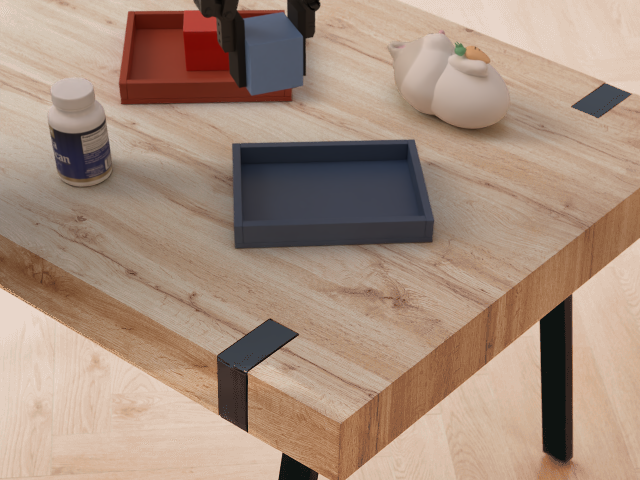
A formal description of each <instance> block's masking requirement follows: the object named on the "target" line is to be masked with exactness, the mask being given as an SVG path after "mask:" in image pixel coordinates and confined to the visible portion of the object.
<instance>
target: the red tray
mask: <svg viewBox="0 0 640 480" xmlns="http://www.w3.org/2000/svg"><path fill="white" fill-rule="evenodd" d="M237 11H238V12H239V14H240V15H241V17H242V18H243V19H244V18H250V17H256V16H262V15H268V14H274V13H280V12H284V14H285V15H286V10H285V9H237ZM126 16H127V17H126V25H125V32H124V40H123V49H122V56H121V64H120V70H119V80H118V88H119V96H120V104H121V105H143V104H144V105H147V104H149V105H150V104H151V105H153V104H155V105H156V104H203V103H205V104H206V103H208V104H210V103H212V104H213V103H253V102H255V103H260V102H263V103H264V102H268V103H269V102H292V101H293V88H290V89H284V90H279V91H274V92H269V93H264V94H258V95H253V96H252V95H251V94H250V93H249V91H248V90H247V88H246V87H242V88H239V87H238V86H237V84H236V82H235V81H234V79H233V78H232V76H231V75H230V71H229V70H219V71H186V62H185V50H184V37H183V23H184V10H128V11H127V15H126Z"/></svg>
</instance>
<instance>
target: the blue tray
mask: <svg viewBox="0 0 640 480" xmlns="http://www.w3.org/2000/svg"><path fill="white" fill-rule="evenodd" d="M231 147H232V149H231V151H232V152H231V154H232V157H231V158H232V203H233V205H232V207H233V237H234V249H259V248H260V249H261V248H289V247H318V246H319V247H321V246H346V245H348V246H349V245H350V246H351V245H379V244H406V243H407V244H408V243H409V244H410V243H411V244H412V243H433V238H434V229H435V217H434V213H433V209H432V204H431V201H430V196H429V191H428V187H427V184H426V181H425V175H424V172H423V167H422V164H421V160H420V156H419V155H420V154H419V151H418V147H417V144H416V139H414V138H413V139H370V140H369V139H368V140H367V139H366V140H324V141H323V140H320V141H319V140H317V141H278V142H277V141H275V142H274V141H272V142H271V141H270V142H233V143H231Z"/></svg>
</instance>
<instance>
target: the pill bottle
mask: <svg viewBox="0 0 640 480" xmlns="http://www.w3.org/2000/svg"><path fill="white" fill-rule="evenodd" d="M49 90H50V98H51V102H52V105H50V107H49V109H48V110H47V124H48V130H49V134H50V141H51V146H52V152H53V157H54V162H55V168H56V171H57V175H58V177H59V178H60V180H61V181H62V182H63V183H65V184H67V185H71V186H73V187H81V188H82V187H83V188H84V187H91V186H95V185H98V184H100V183H102V182H104V181H105V180H107V179H108V178H109V177H110V175H111V174H112V172H113V159H112V158H113V157H112V152H111V145H110V137H109V132H108V131H109V130H108V124H107V123H108V122H107V116H106V111H105V108H104V105H102V103H101V102H99V100H97V99H96V92H95V87H94V84H93V83H92V82H91V80H88V79H87V78H84V77H80V76H79V77H78V76H72V77H71V76H70V77H64V78H62V79H59V80H57V81H55V82H54V83H53V84H52V85H51V87H50V89H49Z"/></svg>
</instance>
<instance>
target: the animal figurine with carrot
mask: <svg viewBox="0 0 640 480" xmlns="http://www.w3.org/2000/svg"><path fill="white" fill-rule="evenodd" d="M386 45H387V46H386V49H387V51H388V53H389V54H390V56H391V58H392V61H391V67H392V69H393V78H394V82H395V86H396V89H397V91H398V93H399V95H400V96H401V97H402V98H403V99H404V100H405V102H407V103H408V104H409V105H410V106H411V107H412V108H414V109H415V110H417V111H418V112H420V113H422V114H425V115H431V116H436V117H437V118H439V119H440V120H441V121H443V122H445V123H447V124H448V125H451V126H454V127H456V128H457V127H458V128H462V129H472V130H473V129H474V130H475V129H483V128H488V127H490V126H493V125H495V124H496V123H498V122H500V121H501V120H502V119H504V117H505V116H506V115H507V113H508V111H509V109H510V107H511V95H510V90H509V88H508V85H507V82H506V81H505V80H504V78H503V76H502V75H501V73H499V71H498V70H497V68H495V67H494V66H493V65H492V64H490V63H491V58H490V57H489V56H488V54H487V53H486V52H484V51H483V50H481V49H480V48H479V47H478V46H475V45H467V46H464V45H463V43H462V42H460V43H459V41H456V42H454V43H453V42H452V40H451V39H450V38H449V37H448V36H447V35H446V32H445V30H444V29H440V30H439V31H438V32H435V33H434V32H432V33H427V34H425V35H423V36H421V37H418V38H416V39H414V40H411V41H400V40H399V41H398V40H392V41H389V42H388V43H387V44H386Z"/></svg>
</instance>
